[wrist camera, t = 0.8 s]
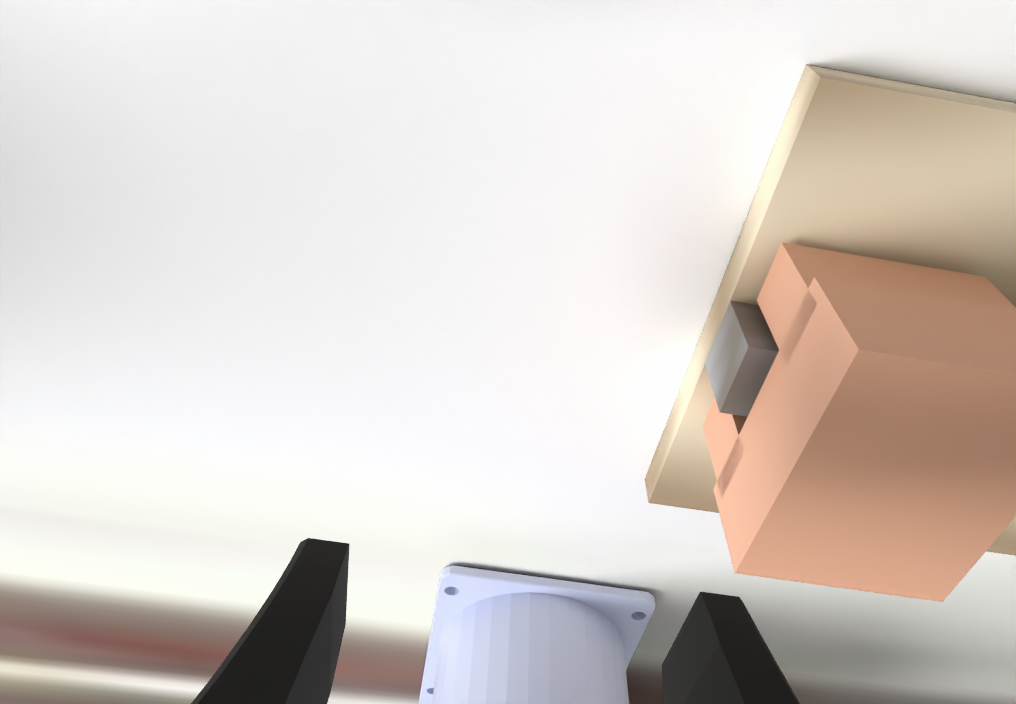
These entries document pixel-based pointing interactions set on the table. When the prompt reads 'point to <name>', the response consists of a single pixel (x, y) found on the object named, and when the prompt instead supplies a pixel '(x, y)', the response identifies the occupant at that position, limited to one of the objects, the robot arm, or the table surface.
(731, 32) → the table surface
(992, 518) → the block
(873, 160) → the rail board
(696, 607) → the robot arm
